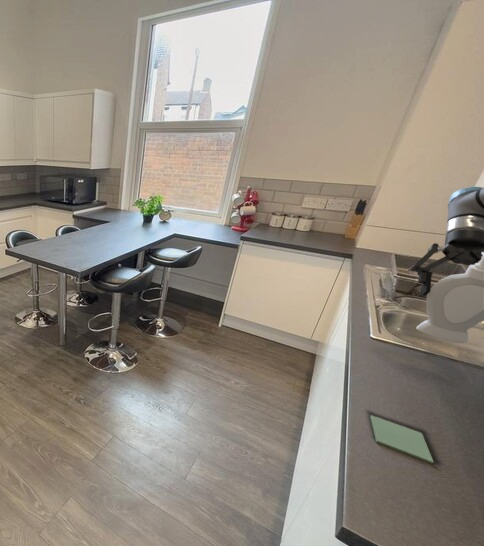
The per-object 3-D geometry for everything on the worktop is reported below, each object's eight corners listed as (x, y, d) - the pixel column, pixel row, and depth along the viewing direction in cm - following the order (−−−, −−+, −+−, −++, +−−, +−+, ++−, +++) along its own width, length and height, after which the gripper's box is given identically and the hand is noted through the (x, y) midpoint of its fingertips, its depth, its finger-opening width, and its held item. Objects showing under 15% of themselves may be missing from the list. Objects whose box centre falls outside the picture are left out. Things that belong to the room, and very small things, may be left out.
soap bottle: (470, 334, 89) (523, 257, 78) (476, 349, 83) (535, 268, 72) (407, 318, 96) (447, 246, 85) (409, 331, 91) (453, 255, 80)
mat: (420, 434, 72) (422, 433, 72) (432, 464, 65) (434, 462, 65) (370, 416, 77) (370, 414, 77) (376, 442, 70) (377, 440, 70)
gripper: (412, 222, 94) (403, 283, 88) (545, 235, 81) (546, 307, 75) (401, 235, 100) (392, 293, 94) (523, 249, 87) (522, 318, 81)
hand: (460, 300), depth 84 cm, fingers closed on soap bottle, 13 cm apart
